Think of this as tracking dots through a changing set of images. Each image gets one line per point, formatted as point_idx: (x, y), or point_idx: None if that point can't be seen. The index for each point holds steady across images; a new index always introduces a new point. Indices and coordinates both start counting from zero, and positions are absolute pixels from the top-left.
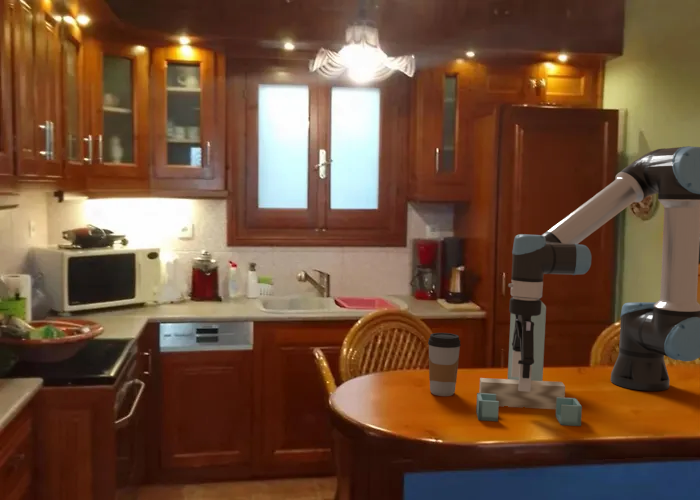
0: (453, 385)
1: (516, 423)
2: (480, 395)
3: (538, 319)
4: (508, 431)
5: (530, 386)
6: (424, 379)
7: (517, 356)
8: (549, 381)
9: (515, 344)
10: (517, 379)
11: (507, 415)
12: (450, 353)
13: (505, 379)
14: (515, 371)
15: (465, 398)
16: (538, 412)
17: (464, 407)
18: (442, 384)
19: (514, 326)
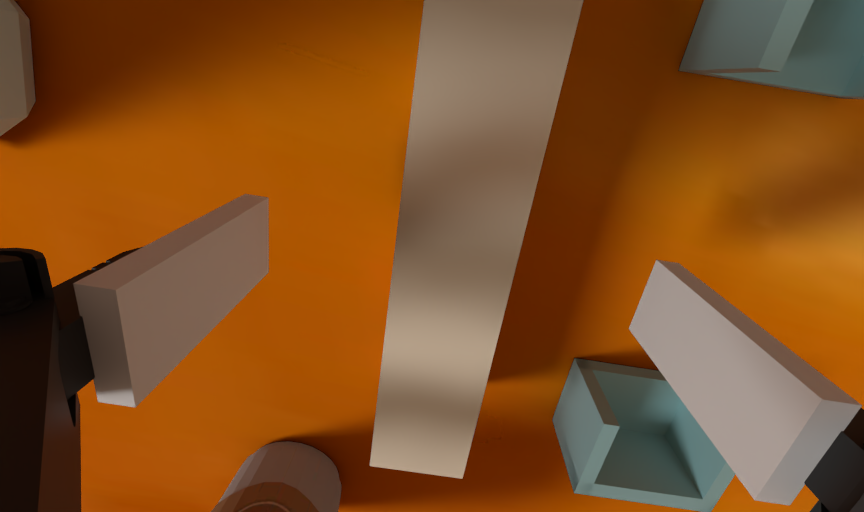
0: (313, 488)
1: (742, 312)
2: (621, 489)
3: None
4: (832, 370)
5: (700, 281)
6: (105, 493)
7: (169, 329)
8: (425, 5)
9: (77, 488)
10: (12, 118)
11: (620, 318)
12: None
13: (392, 347)
14: (248, 266)
15: (362, 416)
16: (593, 152)
17: (492, 444)
18: None
19: None
